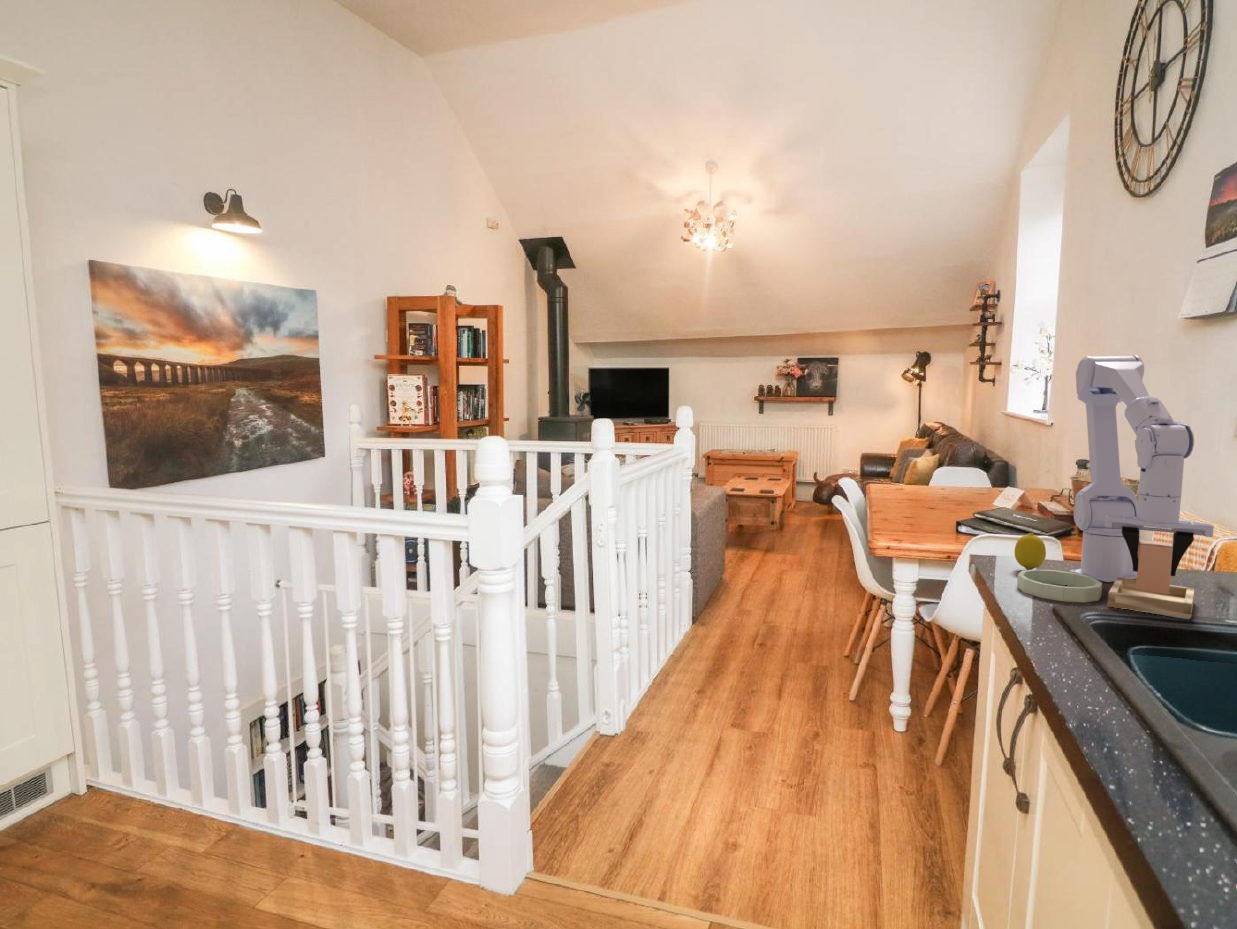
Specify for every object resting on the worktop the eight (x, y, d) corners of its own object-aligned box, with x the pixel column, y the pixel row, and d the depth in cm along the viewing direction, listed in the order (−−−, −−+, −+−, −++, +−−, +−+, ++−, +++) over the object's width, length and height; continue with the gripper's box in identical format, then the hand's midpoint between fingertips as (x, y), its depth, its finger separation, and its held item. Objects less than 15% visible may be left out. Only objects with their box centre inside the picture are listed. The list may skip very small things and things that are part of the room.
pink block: (1136, 584, 122) (1139, 540, 121) (1167, 588, 119) (1171, 543, 118) (1136, 590, 118) (1139, 544, 117) (1169, 594, 116) (1172, 548, 115)
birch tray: (1116, 590, 127) (1117, 577, 127) (1193, 602, 120) (1194, 588, 120) (1107, 606, 118) (1108, 592, 118) (1190, 620, 111) (1191, 605, 110)
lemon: (1016, 573, 140) (1018, 534, 139) (1011, 566, 145) (1013, 529, 144) (1047, 575, 138) (1050, 536, 137) (1041, 568, 143) (1043, 531, 142)
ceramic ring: (1052, 579, 135) (1053, 567, 135) (1117, 597, 123) (1118, 584, 123) (1002, 585, 131) (1003, 572, 131) (1064, 605, 119) (1065, 591, 119)
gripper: (1107, 494, 118) (1101, 571, 119) (1218, 501, 110) (1210, 584, 111) (1107, 489, 124) (1102, 563, 125) (1213, 496, 115) (1206, 575, 117)
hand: (1153, 572), depth 118 cm, fingers closed on pink block, 4 cm apart
